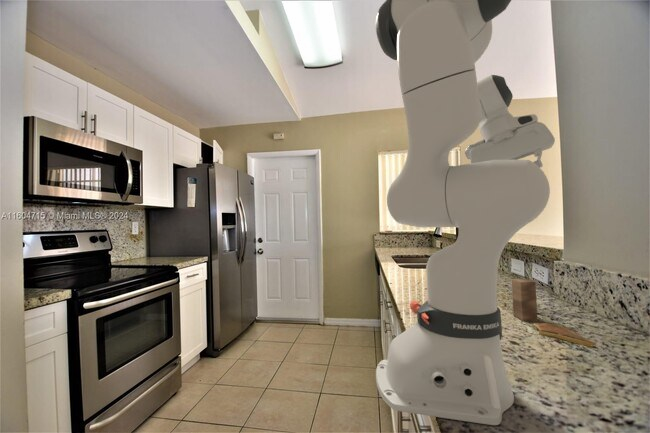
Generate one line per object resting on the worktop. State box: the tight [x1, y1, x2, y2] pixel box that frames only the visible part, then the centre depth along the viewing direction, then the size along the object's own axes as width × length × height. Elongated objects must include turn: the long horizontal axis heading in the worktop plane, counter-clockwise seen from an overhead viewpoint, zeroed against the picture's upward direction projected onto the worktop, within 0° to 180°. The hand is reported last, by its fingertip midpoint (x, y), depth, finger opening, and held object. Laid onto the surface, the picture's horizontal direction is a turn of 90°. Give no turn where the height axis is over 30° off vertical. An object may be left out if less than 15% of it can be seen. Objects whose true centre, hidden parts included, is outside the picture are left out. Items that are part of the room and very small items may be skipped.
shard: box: [533, 322, 597, 348], centre depth 64 cm, size 11×8×2 cm
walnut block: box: [511, 278, 539, 322], centre depth 77 cm, size 4×4×11 cm
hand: (519, 173), depth 74 cm, fingers open, 8 cm apart
